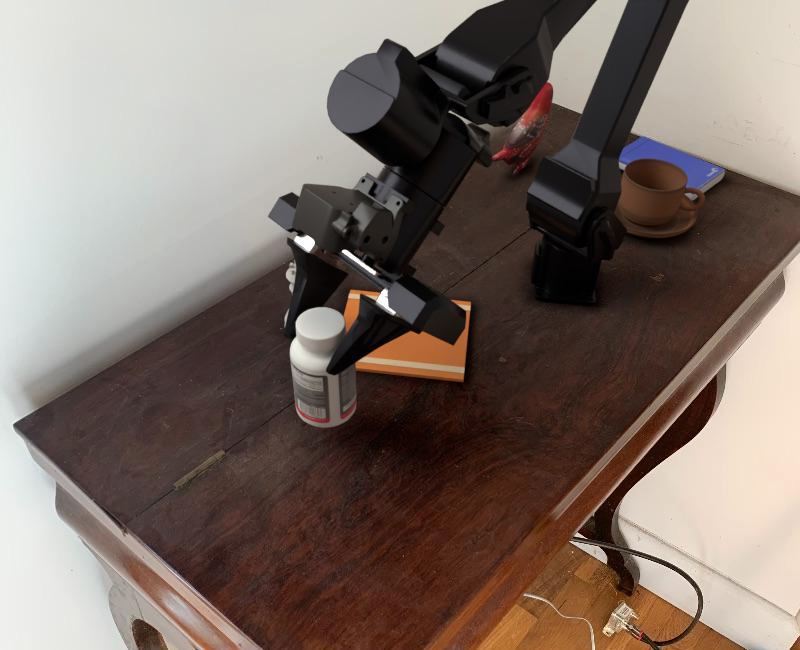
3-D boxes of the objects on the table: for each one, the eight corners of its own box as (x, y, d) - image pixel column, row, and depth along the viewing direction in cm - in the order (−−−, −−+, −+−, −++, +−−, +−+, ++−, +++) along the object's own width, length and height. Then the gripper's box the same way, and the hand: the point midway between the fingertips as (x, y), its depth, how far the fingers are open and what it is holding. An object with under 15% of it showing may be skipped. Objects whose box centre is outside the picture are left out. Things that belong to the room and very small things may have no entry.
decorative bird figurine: (551, 150, 110) (564, 78, 102) (494, 210, 99) (504, 134, 92) (532, 144, 111) (544, 73, 103) (473, 202, 100) (481, 127, 93)
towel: (470, 304, 86) (471, 301, 86) (463, 382, 78) (463, 378, 77) (350, 292, 87) (350, 288, 86) (330, 368, 78) (330, 364, 78)
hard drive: (726, 168, 105) (644, 134, 111) (694, 191, 100) (611, 154, 106) (722, 179, 106) (641, 145, 112) (691, 202, 102) (608, 165, 107)
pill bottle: (341, 378, 73) (337, 294, 66) (367, 417, 70) (366, 332, 63) (286, 397, 72) (276, 312, 64) (309, 437, 68) (302, 353, 61)
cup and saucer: (678, 193, 103) (692, 149, 98) (705, 248, 95) (721, 202, 90) (585, 192, 102) (595, 147, 98) (604, 247, 94) (616, 201, 90)
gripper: (276, 95, 60) (173, 272, 63) (449, 201, 51) (319, 403, 54) (359, 156, 70) (266, 308, 72) (518, 255, 60) (404, 425, 63)
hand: (308, 355), depth 65 cm, fingers closed on pill bottle, 5 cm apart
